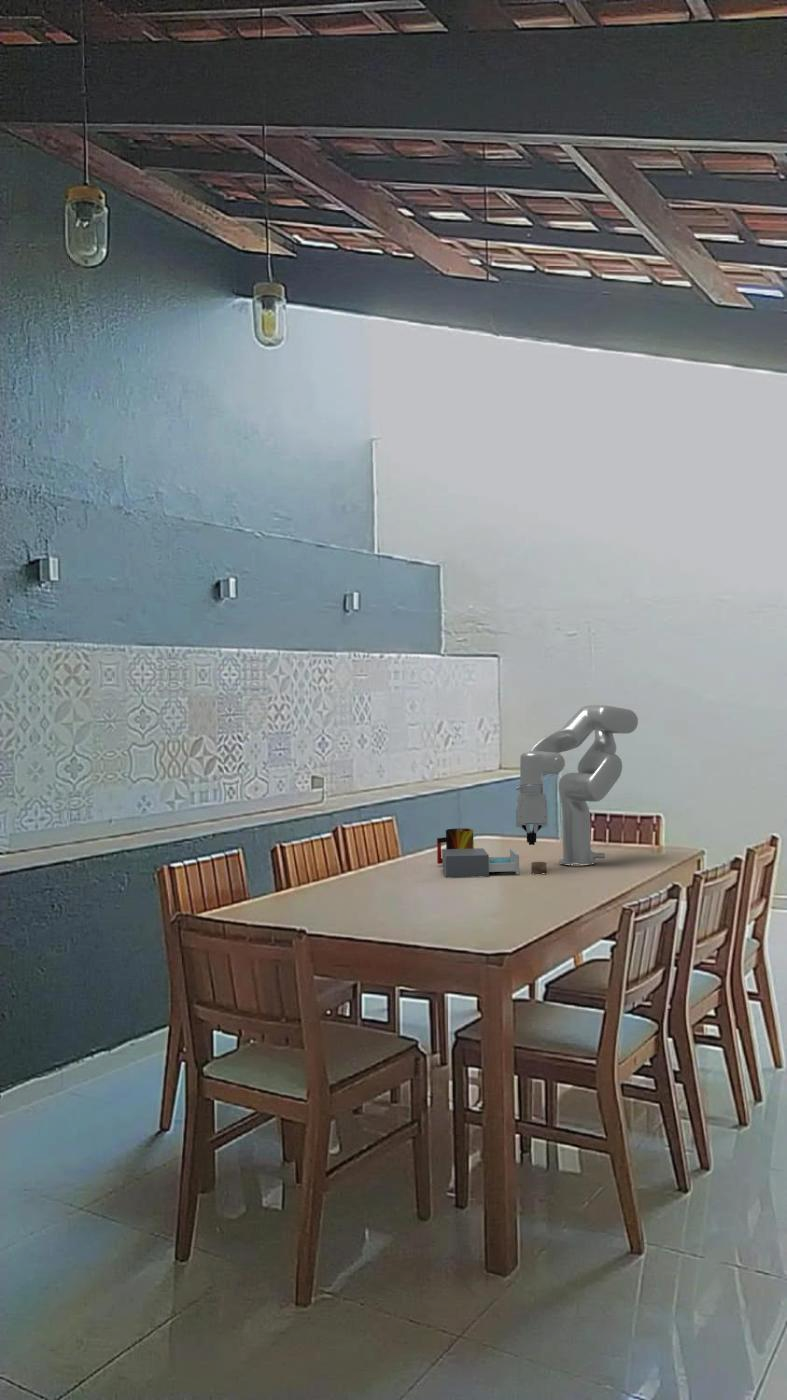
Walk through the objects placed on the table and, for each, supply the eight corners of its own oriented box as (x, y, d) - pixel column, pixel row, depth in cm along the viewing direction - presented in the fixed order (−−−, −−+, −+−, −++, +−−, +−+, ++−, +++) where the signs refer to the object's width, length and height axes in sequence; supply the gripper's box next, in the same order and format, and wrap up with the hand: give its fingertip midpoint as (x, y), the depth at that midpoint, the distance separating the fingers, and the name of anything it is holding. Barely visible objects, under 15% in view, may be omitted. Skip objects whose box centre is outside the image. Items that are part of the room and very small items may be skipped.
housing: (483, 868, 396) (483, 848, 396) (489, 876, 380) (488, 855, 379) (442, 869, 396) (442, 849, 396) (446, 877, 379) (445, 856, 379)
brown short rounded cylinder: (545, 872, 386) (545, 861, 386) (547, 874, 381) (547, 863, 381) (530, 872, 386) (530, 862, 386) (532, 874, 381) (532, 864, 381)
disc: (508, 863, 392) (508, 857, 392) (512, 867, 385) (512, 861, 385) (488, 864, 391) (488, 858, 391) (491, 867, 384) (491, 861, 384)
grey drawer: (513, 867, 396) (512, 848, 396) (519, 874, 381) (518, 854, 381) (474, 868, 395) (473, 849, 395) (478, 875, 380) (478, 855, 380)
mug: (436, 867, 403) (436, 832, 403) (453, 861, 415) (452, 827, 415) (462, 868, 399) (461, 833, 399) (478, 862, 411) (477, 828, 411)
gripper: (510, 790, 384) (510, 845, 384) (555, 790, 384) (555, 845, 384) (507, 788, 392) (507, 843, 391) (551, 789, 392) (551, 843, 392)
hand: (531, 844), depth 388 cm, fingers closed
